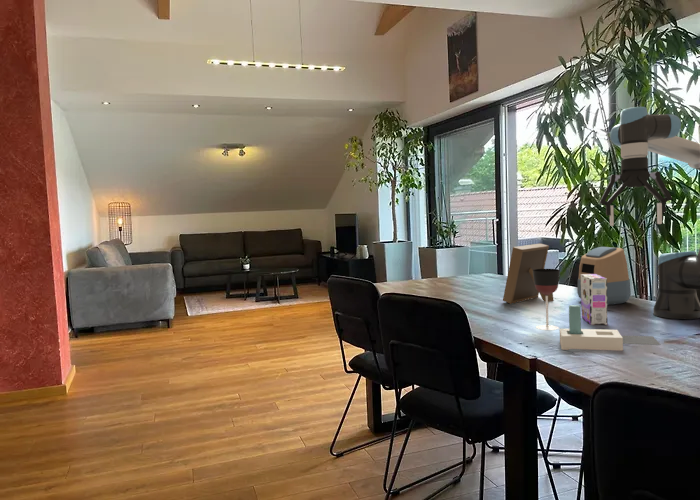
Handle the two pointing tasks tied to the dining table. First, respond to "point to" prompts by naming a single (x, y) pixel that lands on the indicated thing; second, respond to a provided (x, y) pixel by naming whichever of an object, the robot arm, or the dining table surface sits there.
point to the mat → (640, 340)
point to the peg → (574, 319)
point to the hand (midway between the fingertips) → (635, 224)
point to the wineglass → (546, 288)
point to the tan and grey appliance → (608, 272)
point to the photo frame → (525, 273)
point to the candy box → (594, 299)
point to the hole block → (591, 339)
